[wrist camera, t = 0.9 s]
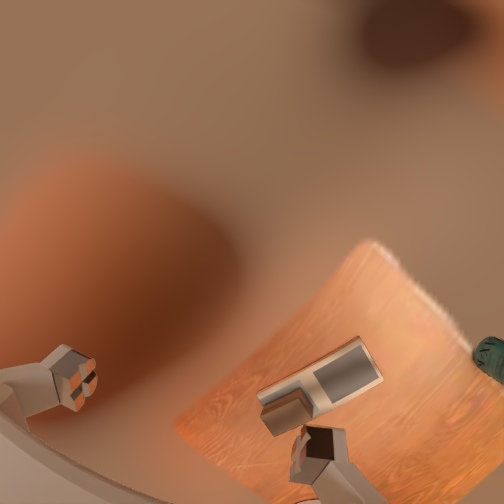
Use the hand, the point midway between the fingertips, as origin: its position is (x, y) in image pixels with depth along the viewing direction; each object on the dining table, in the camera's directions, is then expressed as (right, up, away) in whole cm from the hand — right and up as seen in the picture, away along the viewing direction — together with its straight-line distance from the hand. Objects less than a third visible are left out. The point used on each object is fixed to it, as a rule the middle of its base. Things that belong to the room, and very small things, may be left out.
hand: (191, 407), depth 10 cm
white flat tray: (+14, -17, +38) cm, 44 cm away
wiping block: (+8, -21, +37) cm, 43 cm away
